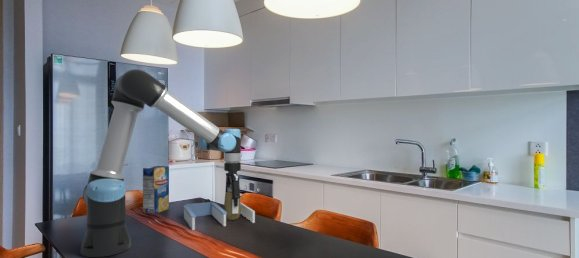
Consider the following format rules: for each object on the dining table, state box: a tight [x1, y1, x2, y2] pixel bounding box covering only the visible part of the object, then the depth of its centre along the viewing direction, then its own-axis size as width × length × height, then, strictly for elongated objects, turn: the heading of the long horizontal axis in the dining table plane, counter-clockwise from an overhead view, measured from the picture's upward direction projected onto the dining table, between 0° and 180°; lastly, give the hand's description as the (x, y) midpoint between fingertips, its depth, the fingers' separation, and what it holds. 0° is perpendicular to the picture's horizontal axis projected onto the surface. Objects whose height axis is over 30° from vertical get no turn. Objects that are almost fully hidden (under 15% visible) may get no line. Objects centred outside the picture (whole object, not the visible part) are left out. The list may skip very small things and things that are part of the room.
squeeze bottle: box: [223, 185, 242, 221], centre depth 158 cm, size 8×8×18 cm
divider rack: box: [182, 201, 256, 231], centre depth 155 cm, size 23×27×6 cm
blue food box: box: [142, 165, 170, 215], centre depth 173 cm, size 7×11×22 cm, turn 162°
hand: (232, 211), depth 158 cm, fingers closed on squeeze bottle, 8 cm apart
